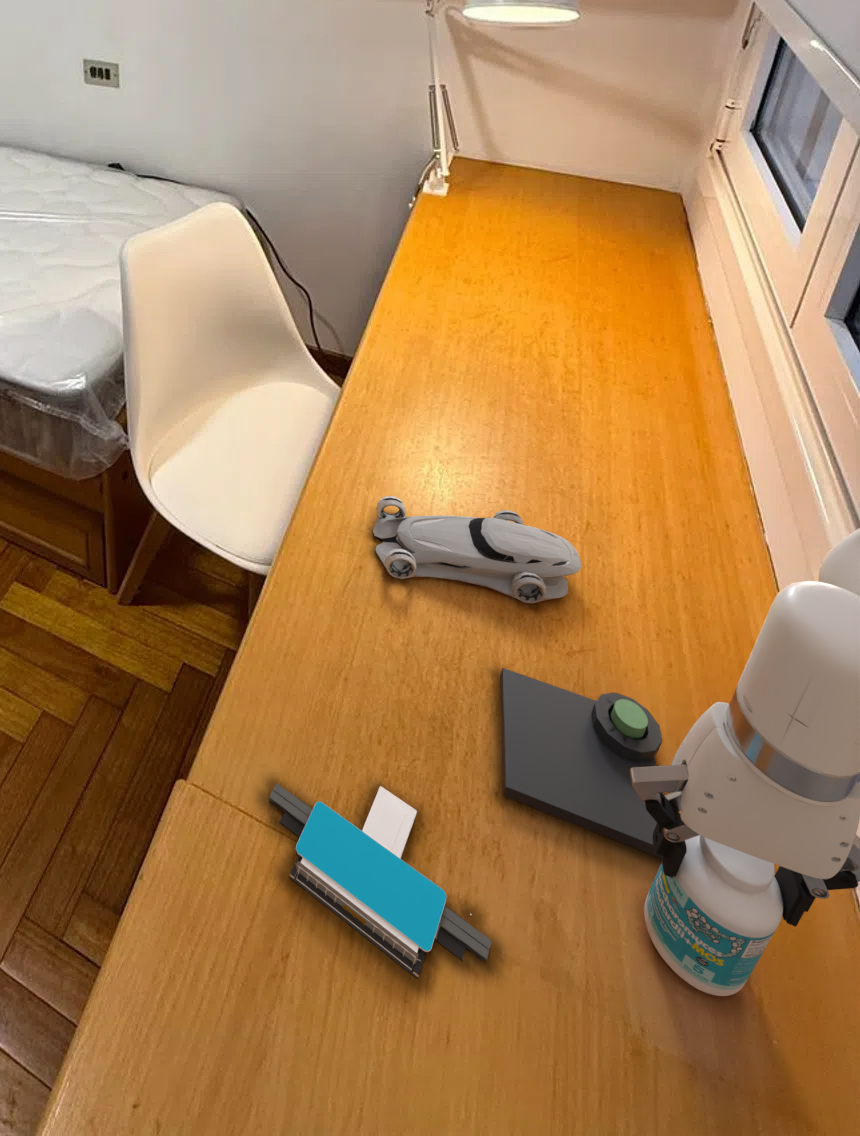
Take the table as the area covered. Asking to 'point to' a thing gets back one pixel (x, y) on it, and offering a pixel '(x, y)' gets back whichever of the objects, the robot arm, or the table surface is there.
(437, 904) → the blue paper trimmer
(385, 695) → the table surface
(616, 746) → the scale
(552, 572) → the car model
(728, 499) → the table surface
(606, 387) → the table surface
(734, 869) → the pill bottle
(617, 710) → the button
